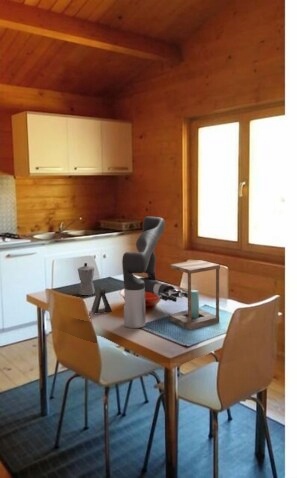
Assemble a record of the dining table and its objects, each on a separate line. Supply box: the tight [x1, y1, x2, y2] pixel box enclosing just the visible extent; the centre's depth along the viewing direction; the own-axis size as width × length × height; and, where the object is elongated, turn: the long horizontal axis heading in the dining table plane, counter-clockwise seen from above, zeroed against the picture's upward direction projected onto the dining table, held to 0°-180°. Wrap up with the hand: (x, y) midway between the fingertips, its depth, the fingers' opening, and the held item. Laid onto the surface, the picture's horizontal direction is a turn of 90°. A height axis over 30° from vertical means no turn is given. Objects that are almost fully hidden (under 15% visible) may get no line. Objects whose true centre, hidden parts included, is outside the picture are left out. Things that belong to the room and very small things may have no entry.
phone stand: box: [90, 286, 113, 314], centre depth 216 cm, size 9×6×12 cm, turn 111°
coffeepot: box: [77, 262, 96, 296], centre depth 248 cm, size 15×9×18 cm, turn 12°
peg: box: [191, 289, 200, 319], centre depth 199 cm, size 5×5×14 cm
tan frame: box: [167, 259, 221, 331], centre depth 198 cm, size 16×17×27 cm
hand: (183, 298), depth 205 cm, fingers open, 8 cm apart
